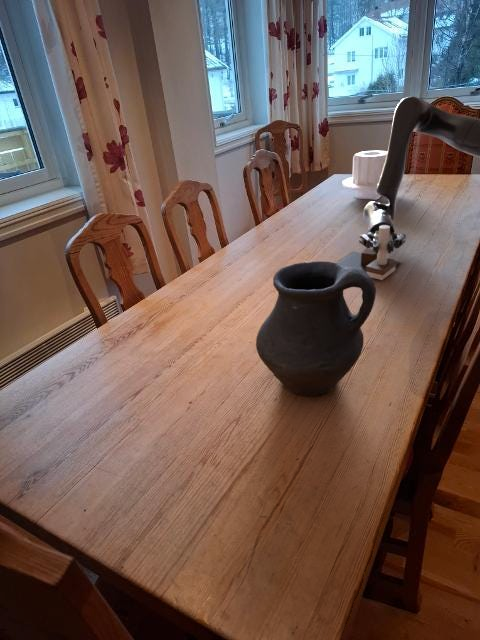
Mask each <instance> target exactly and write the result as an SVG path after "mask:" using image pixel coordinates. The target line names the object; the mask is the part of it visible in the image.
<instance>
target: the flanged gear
mask: <svg viewBox="0 0 480 640" xmlns="http://www.w3.org/2000/svg"><path fill="white" fill-rule="evenodd" d="M386 156H387V151H386V150H365V151H360V152H357V153H354V155H353V156H352V177H348V178H346V179H344V180H343V181H342V187H343V188H344V189H347V190H352V191H355V198H356V199H361V200H362V199H363V200H374V201H375V200H378V199H379V198H381V197H382V196H381V195H379V194H377V192H376V189H377V186H378V182H379V179H380V176H381V173H382V170H383V167H384V163H385V160H386Z"/></svg>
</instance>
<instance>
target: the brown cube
mask: <svg viewBox="0 0 480 640" xmlns="http://www.w3.org/2000/svg"><path fill="white" fill-rule="evenodd" d="M360 253H361V265H365V266H367V265H369V264H370V263H371V262H373V261H374V260H376V259H377V253H375V252H374V251H373V248H364V250H363V251H361V252H360Z"/></svg>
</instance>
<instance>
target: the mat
mask: <svg viewBox="0 0 480 640" xmlns="http://www.w3.org/2000/svg"><path fill="white" fill-rule="evenodd" d="M361 253H362V252H355V251H352V252H351V253H350V254H348V255H346V256H345V257H343V258H342V259H340V260H338V261H336V262H335V263H336V264H339V265H342V266H346V267H353V268H357V269H360V270H363V271H364V272H366V273H367V271H366V266H365V265H361ZM399 264H400V261H399V260H397V265H396V267H397V266H398V265H399Z"/></svg>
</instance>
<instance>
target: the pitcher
mask: <svg viewBox="0 0 480 640" xmlns="http://www.w3.org/2000/svg"><path fill="white" fill-rule="evenodd" d="M336 263H337V262H334V261H323V260H322V261H320V260H319V261H318V260H317V261H309V262H305V261H304V262H298V263H292V264H290V265H286V266H283V267H281V268H280V269H278V270H276V272H275V273H274V275H273V278H272V281H273V282H272V284H273V285H272V286H273V287H274V289H275V290H276V291H277V292H278V293H277V294H278V296H277V299H276V302H275V304H274V306H273V309H272V310H271V311H270V313H269V315H268V316H267V317H266V319H265V320H264V321H263V323H262V324H261V325H260V327H259V330H258V331H257V334H256V338H255V341H256V342H255V348H256V351H257V354H258V356H259V358H260V360H261V361H262V363H263V364H264V366H265V367H267V369H268V370H269V371H270V372H271V373H272V374H273V375H274V377H275V378H276V379H277V380H278V381H279V382H280V383H281V384H282V386H283V387H284V388H285V389H286V390H288V391H290V392H292V393H293V394H295V395H299V396H303V397H321V396H324V395H328V394H329V393H330V392H331V391H332V390H333V388H335V387H336V385H337V384H338V383H339V382H340V381H341V380H342V379H343V378H344V377H345V376H346V375H348V373H349V372H350V371H351V370H352V368H353V367H354V366H355V365H356V363H357V362H358V360H359V358H360V357H361V354H362V351H363V347H364V338H365V337H364V333H363V331H362V326H363V325H364V323H365V322H366V321H367V319H368V318H369V316H370V314H371V312H372V310H373V308H374V305H375V301H376V296H377V287H376V284H375V282H374V280H373V278H372V277H370V276H369V275H368V274H367V273H366V272H364V271H363V270H360V269H357V268H353V267H346V266H342V265H339V264H336ZM350 288H357V289H360V290H361V298H362V303H361V305H360V306H359V310H358V312H356V314H353V312H351V310H350V308H349V306H348V303H347V302H346V300H345V299H346V298H345V297H344V291H345V290H347V289H350Z"/></svg>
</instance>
